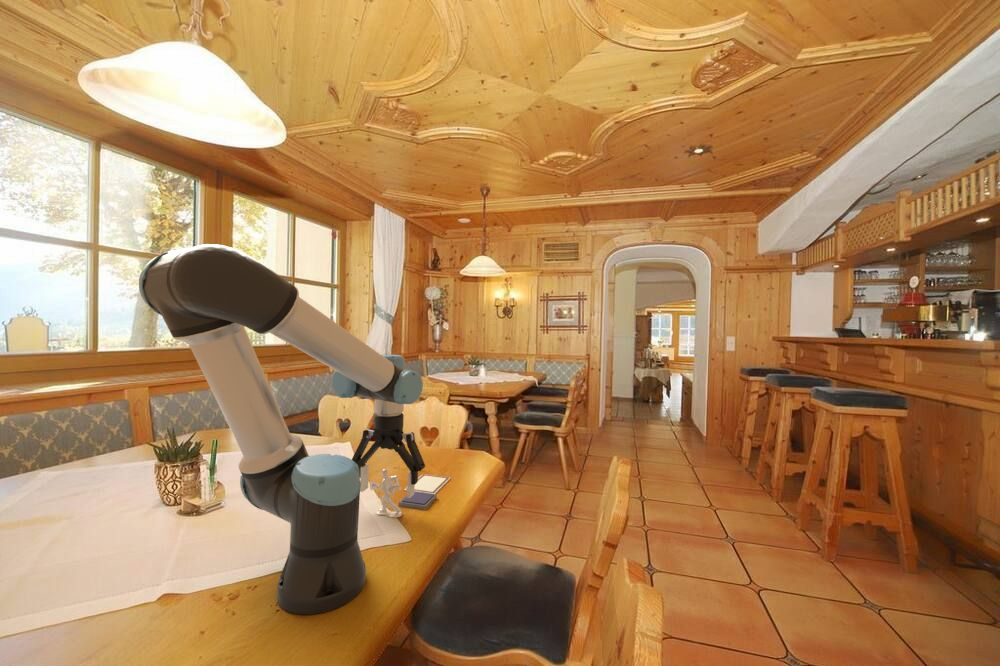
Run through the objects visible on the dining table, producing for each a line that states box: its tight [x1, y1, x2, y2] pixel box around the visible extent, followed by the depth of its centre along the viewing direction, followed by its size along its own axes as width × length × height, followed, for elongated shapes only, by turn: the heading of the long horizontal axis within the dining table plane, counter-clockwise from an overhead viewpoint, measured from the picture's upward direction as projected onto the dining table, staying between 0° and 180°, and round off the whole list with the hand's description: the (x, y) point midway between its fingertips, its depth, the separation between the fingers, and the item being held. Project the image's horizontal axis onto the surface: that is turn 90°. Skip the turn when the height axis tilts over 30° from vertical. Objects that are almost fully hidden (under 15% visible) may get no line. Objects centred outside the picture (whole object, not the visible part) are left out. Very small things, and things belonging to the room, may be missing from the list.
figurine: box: [369, 468, 403, 519], centre depth 104 cm, size 5×9×12 cm, turn 86°
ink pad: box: [398, 492, 437, 511], centre depth 112 cm, size 8×8×1 cm
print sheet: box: [403, 473, 452, 495], centre depth 126 cm, size 14×10×1 cm
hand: (387, 493), depth 105 cm, fingers open, 13 cm apart
